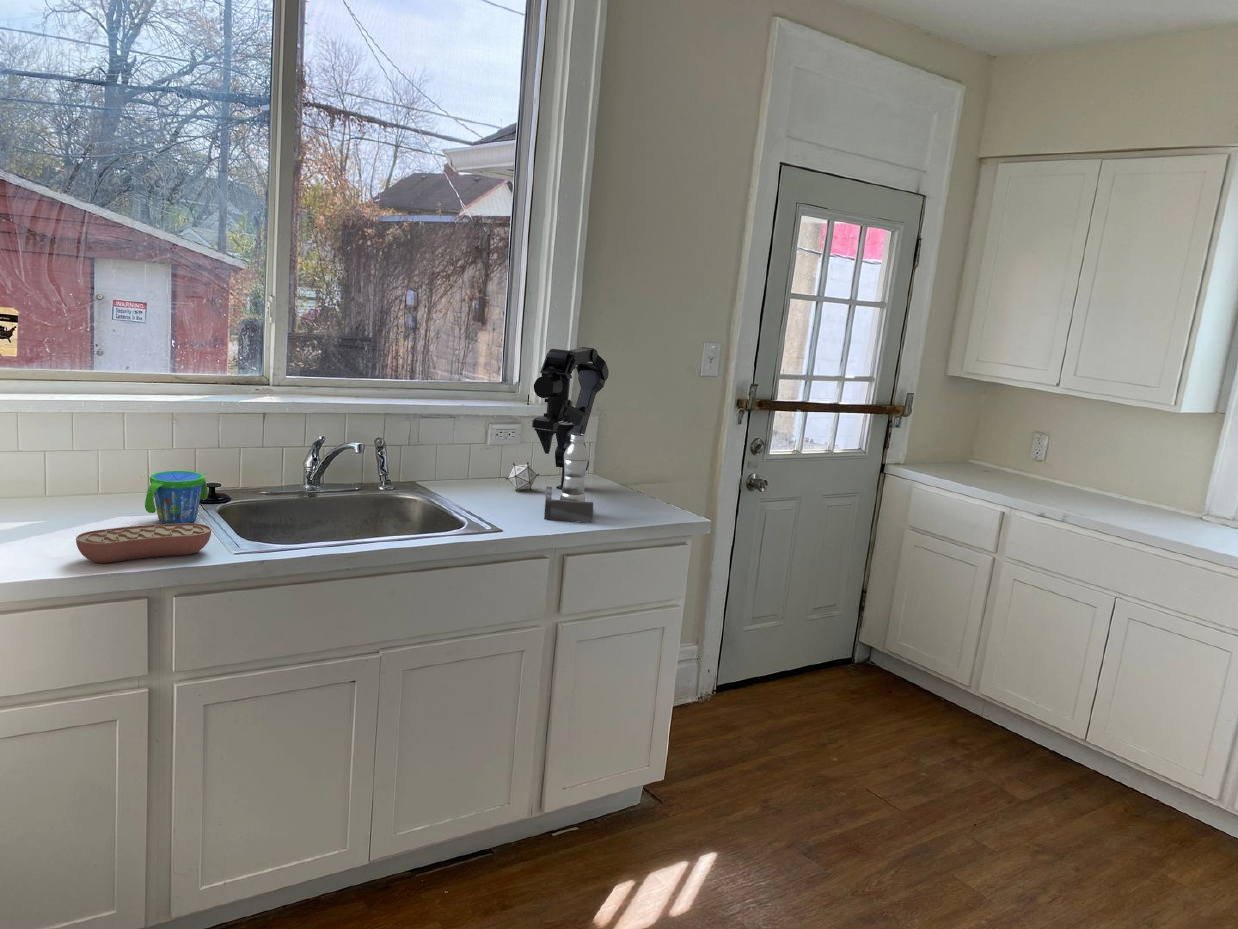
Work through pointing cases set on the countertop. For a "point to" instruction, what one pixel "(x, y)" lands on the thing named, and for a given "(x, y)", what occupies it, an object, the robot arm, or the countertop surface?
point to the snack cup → (176, 495)
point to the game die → (522, 476)
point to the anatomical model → (143, 541)
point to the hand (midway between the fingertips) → (553, 451)
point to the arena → (567, 509)
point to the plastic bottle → (575, 469)
